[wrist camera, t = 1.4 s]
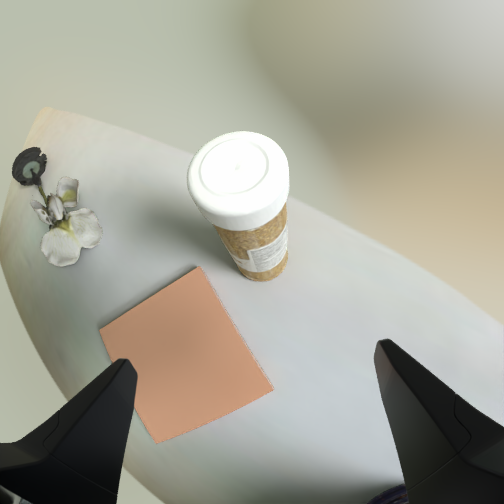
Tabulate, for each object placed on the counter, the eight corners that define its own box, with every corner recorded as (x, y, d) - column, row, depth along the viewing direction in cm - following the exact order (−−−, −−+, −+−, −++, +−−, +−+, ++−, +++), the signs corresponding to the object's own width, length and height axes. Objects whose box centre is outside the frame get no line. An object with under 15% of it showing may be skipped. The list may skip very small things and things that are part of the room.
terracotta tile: (274, 387, 20) (273, 389, 19) (160, 440, 20) (156, 443, 19) (202, 268, 24) (199, 266, 23) (104, 330, 24) (99, 330, 23)
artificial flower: (62, 156, 35) (42, 112, 26) (121, 251, 31) (95, 206, 22) (21, 188, 31) (-5, 148, 22) (68, 295, 27) (25, 264, 18)
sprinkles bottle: (228, 247, 25) (171, 155, 12) (273, 224, 25) (257, 114, 12) (250, 292, 23) (206, 233, 10) (298, 267, 23) (310, 181, 11)
